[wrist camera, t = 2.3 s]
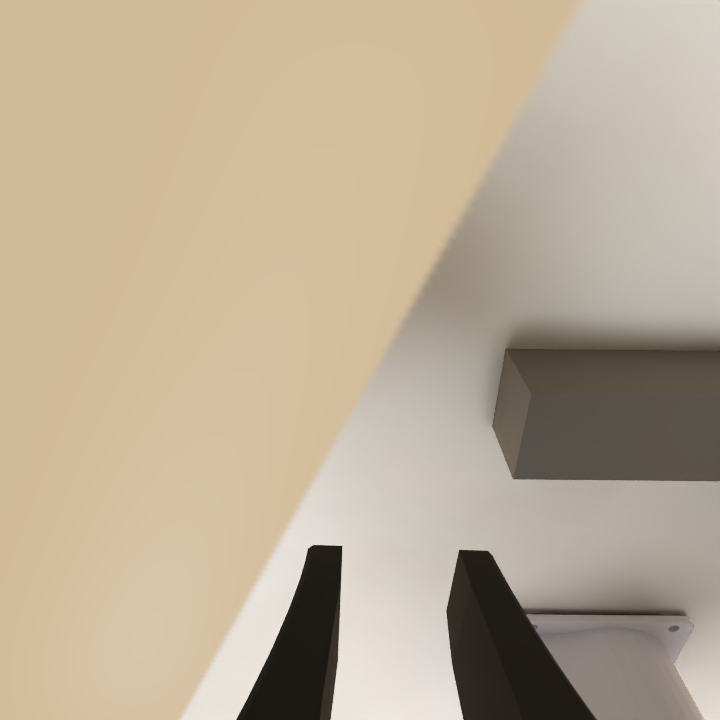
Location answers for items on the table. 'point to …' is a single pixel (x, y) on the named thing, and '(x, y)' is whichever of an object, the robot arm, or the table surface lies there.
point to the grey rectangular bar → (610, 414)
